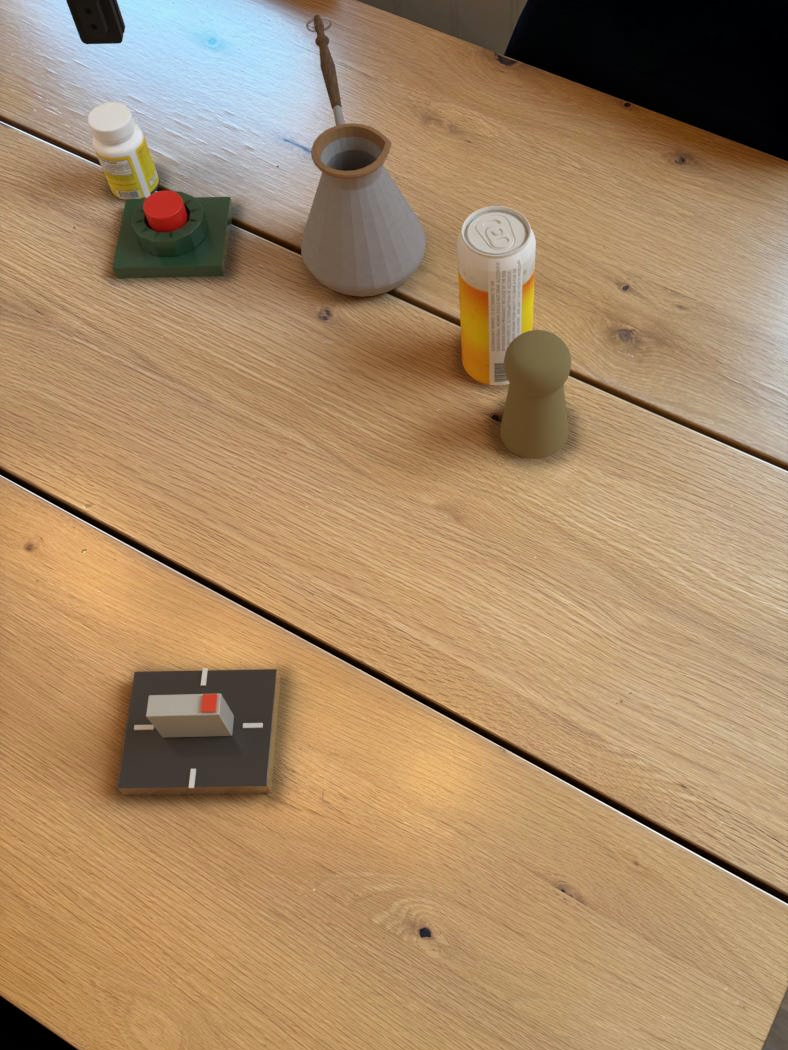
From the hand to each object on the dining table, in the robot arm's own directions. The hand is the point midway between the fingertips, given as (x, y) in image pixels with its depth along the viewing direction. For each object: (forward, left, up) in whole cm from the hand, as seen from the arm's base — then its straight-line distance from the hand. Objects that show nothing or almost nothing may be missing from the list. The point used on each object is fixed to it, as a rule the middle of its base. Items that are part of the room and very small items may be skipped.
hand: (104, 36), depth 81 cm
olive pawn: (+33, -23, -21) cm, 46 cm away
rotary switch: (+8, -50, -21) cm, 55 cm away
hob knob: (+8, -50, -19) cm, 54 cm away
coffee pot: (+17, +2, -21) cm, 27 cm away
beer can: (+30, -15, -21) cm, 40 cm away
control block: (0, 0, -21) cm, 21 cm away
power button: (0, 0, -17) cm, 17 cm away
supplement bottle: (-5, +8, -21) cm, 23 cm away
